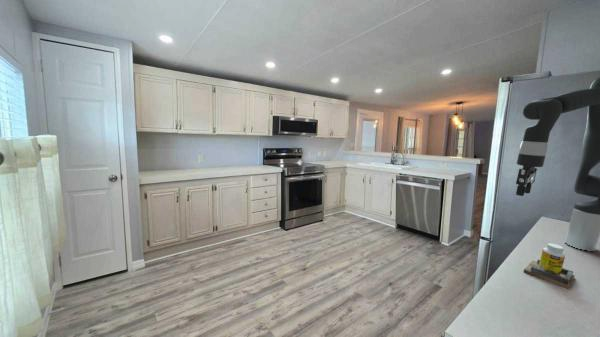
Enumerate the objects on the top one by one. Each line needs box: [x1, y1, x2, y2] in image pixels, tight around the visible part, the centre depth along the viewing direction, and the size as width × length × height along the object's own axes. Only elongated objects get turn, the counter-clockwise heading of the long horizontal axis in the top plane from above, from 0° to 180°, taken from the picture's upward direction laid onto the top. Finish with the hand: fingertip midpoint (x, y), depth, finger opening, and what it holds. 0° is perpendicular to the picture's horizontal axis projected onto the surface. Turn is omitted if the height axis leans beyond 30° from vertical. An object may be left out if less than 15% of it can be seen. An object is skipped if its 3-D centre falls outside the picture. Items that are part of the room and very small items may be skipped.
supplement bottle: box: [538, 242, 566, 276], centre depth 85 cm, size 6×6×10 cm
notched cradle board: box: [523, 258, 576, 290], centre depth 85 cm, size 12×11×2 cm
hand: (522, 194), depth 94 cm, fingers open, 8 cm apart
